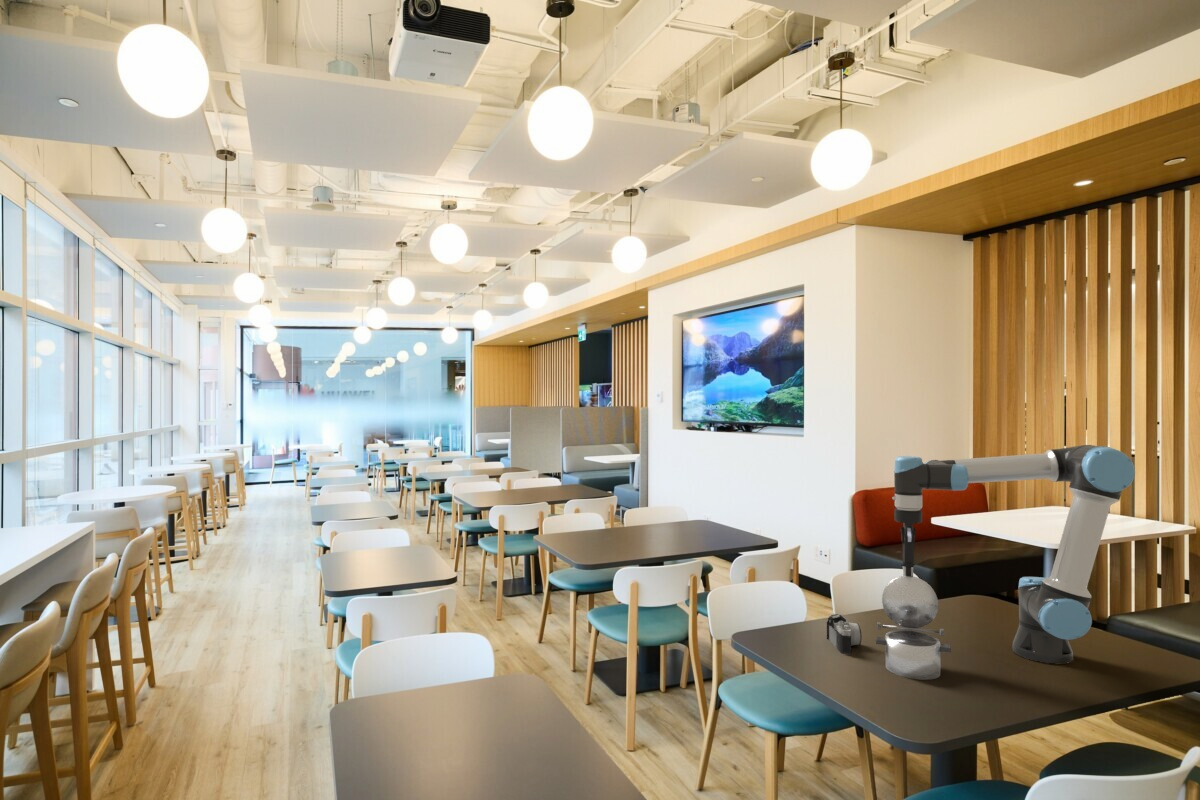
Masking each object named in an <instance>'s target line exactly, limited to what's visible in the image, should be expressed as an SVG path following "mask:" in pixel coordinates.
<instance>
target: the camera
mask: <svg viewBox="0 0 1200 800" xmlns="http://www.w3.org/2000/svg"><path fill="white" fill-rule="evenodd" d="M862 636H863V635H862V630H861V627H860V625H859V623H853V622H849V620H847V618H846V617H845V616H843V615H842V614H839V613H838V612H837V613H832V614H830V616H828V618H827V621H826V640H828V641H829V642H830V643H831V644H832V645H833V647H835V649H836V650H837V651H838V653H839V654H842V655H852V646H860V645H861V644H862V640H863V639H862Z"/></svg>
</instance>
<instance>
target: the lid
mask: <svg viewBox="0 0 1200 800" xmlns="http://www.w3.org/2000/svg"><path fill="white" fill-rule="evenodd" d="M881 604H882V607H883V610H884V613H885V614H886V616H888V619H890V620H891V621H892V622H894V623H895V624H897V625H898V626H897V625H888V624H881V629H882V628H883V629H892V630H893V629H894V630H907V631H916V632H921V633H931V634H940V629H939V630H937V629H929V628H928V629H927V628H923V627H925V626H927V625H928V624H930V623H932V621H933V620H934V619H935V618H936V616H937V613H938V611H939V599H938V597H937V594H936V592H935V590H934V588H932V586H931V585H930V584H928V582H927V581H925V580H923V579H921V578H919V577H916V576H914V575H913V576H903V575H902V576H898V577H895V578H894V579H891V580H890V581H889V582H888V583H887V584H886V585H885V587H884V589H883V590H882V595H881Z"/></svg>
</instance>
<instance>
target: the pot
mask: <svg viewBox="0 0 1200 800" xmlns="http://www.w3.org/2000/svg"><path fill="white" fill-rule="evenodd" d="M876 627H877V630H881V629H882V623H881V622H879V621H877V622H876ZM939 635H940V636H941V637H945V629H944V628H939ZM875 644H876V645H882V646H885V647H884V648H885V668H886V669H887V671H889V672H890V673H893V674H894V675H897V676H900V677H903V678H906V679H912V680H923V681H924V680H927V681H928V680H934V679H938V678H939V677H941V652H944V653H952V648H951V645H950V643H949V644H948V643H941V641H940V639H939V638H937V637H936V636H933V635H931V634H929V633H926V632H920V631H911V630H901V629H895V630H891V631H888V632H887V633H885V635H884V637H883V636H875Z"/></svg>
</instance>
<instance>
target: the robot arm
mask: <svg viewBox="0 0 1200 800" xmlns="http://www.w3.org/2000/svg"><path fill="white" fill-rule="evenodd" d="M893 473H894V481H893V482H894V496H892V497H891V499H892V500H893V501H894V506H895V509H894V518H893V519H894V521H895V522H897V523H900V524H902V523H903V524H902V525H903V526H900V533H901V534H900V535H901V536H900V537H901V538H900V539H901V543H902V558H901V559H902V563H901V564H900V566H901V567H902V576H913V577H914V566H916V563H915V562H914V561H915V560H914V557H915V544H916V535H917V530H916V527H914V524H921V523H922V522H923V511H922V508H923V490H938V491H940V490H941V491H953V492H956V491H965V490H967V488H968V486H969V484H977V483H979V484H980V483H993V482H1011V481H1012V482H1013V481H1029V480H1034V481H1035V480H1049V481H1051V482H1053V483H1054V482H1067V483H1069V486H1068V490H1070V492H1071V494H1072V496H1073V497H1072V500H1071V503H1070V508H1069V511H1068V514H1067V517H1066V521H1065V525H1064V527H1063V531H1062V534H1061V538H1060V542H1059V545H1058V548H1057V552H1056V556H1055V558H1054V559H1055V560H1054V563H1053V567H1052V568H1051V569H1052V570H1051V573H1050V576H1048V577H1041V576H1040V577H1039V576H1022V577H1020V578H1019V581H1018V588H1017V589H1018V619H1019V620H1018V621H1019V622H1018V628H1017V631H1016V633H1015V636H1014V638H1013V640H1012V652H1013V653H1014V654H1016V655H1018V656H1019V657H1021V658H1024V659H1026V660H1029V659H1030V661H1033V660H1034V661H1033V662H1037V661H1040V662H1039V663H1042V662H1047V663H1046V664H1049V663H1067V662H1071V661H1072V660H1073V661H1074V652H1073V649H1072V646H1071V643H1070V642H1069V640H1070V641H1071V640H1076V639H1080V638H1082V637H1084V636H1085V635H1086V634H1088V633H1089V630H1090V629H1091V627H1092V625H1093V620H1092V615H1091V612H1090V610H1089V607H1090V603H1091V599H1092V594H1091V592H1090V591H1089V590H1088V585H1089V581H1090V579H1091V574H1092V571H1093V568H1094V564H1095V560H1096V557H1097V554H1098V550H1099V546H1100V543H1101V540H1102V537H1103V533H1104V531H1105V530H1104V529H1105V526H1106V523H1107V519H1108V516H1109V512H1110V509H1111V506H1112V505H1114V504H1116V503H1118V502H1120V499H1121V496H1122V493H1123V490H1125V489H1127V488H1128V487H1130V486H1131V484H1132V483H1133V481H1134V479H1135V475H1136V468H1135V465H1134V463H1133V461H1132V460H1131V458H1130V457H1129V456H1128V455H1127V454H1126V453H1125V452H1122V451H1121V450H1119V449H1116V448H1113V447H1109V446H1104V445H1102V446H1101V445H1100V446H1099V445H1092V444H1082V445H1075V446H1070V447H1064V448H1055V449H1053V448H1052V449H1047V450H1046V451H1045V452H1043V453H1032V454H1031V453H1029V454H1017V455H1015V454H1014V455H1001V456H990V457H989V456H988V457H975V458H974V457H973V458H972V457H971V458H962V459H961V458H960V459H959V458H958V459H946V460H945V459H943V460H942V459H941V460H938V459H932V460H928V461H926V462H925V463H924V462H923V458H922V457H919V456H910V455H906V456H905V455H903V456H901V455H900V456H898V457H896V458H895V460H894V471H893ZM1073 661H1072V662H1073ZM1072 662H1071V663H1072Z"/></svg>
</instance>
